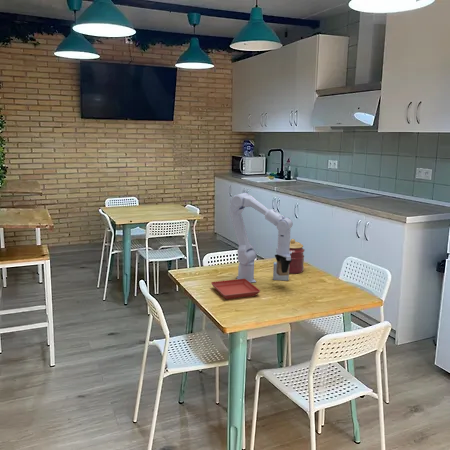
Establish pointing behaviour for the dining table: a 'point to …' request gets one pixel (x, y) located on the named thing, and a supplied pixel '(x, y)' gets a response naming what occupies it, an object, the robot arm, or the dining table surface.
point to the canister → (296, 257)
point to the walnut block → (279, 269)
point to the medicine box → (276, 276)
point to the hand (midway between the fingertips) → (282, 270)
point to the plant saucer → (235, 288)
